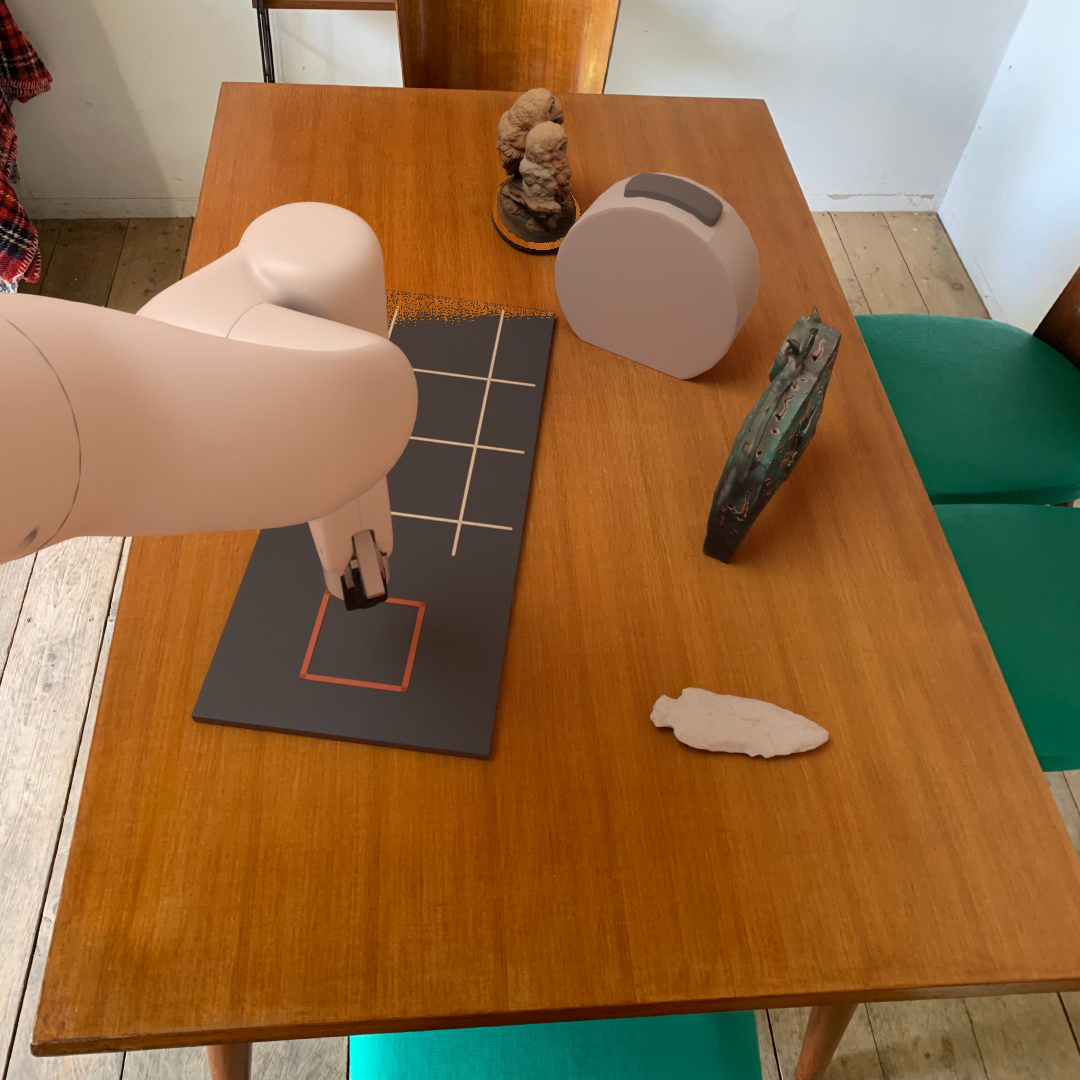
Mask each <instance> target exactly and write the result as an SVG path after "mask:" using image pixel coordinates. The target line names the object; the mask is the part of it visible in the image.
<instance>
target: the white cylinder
mask: <svg viewBox="0 0 1080 1080" xmlns="http://www.w3.org/2000/svg"><path fill="white" fill-rule="evenodd" d="M382 561H383V565H384V568H385V573H386V583H388V581H389V577H390V569H389V558H387V559H386V557H385V556H383V557H382ZM350 563H351V568H352V569H353V568H356V567H359V566H358V562H357V559H356V560H352V561H350ZM321 564H322V563H321ZM322 569H323V575H324V580H325V584H326V586H327V588H328V590H329V591H330V592H331V593H332V594H333V595H335V596H336V597H338V598H340V599H342V600H344V597H343V591H342V585H341V579H340V576H342V575H344V573H343V571H340V572H336V573H330V572H329V571H327V570H326V569H325V568H324V567H323V565H322Z"/></svg>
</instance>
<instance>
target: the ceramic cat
mask: <svg viewBox="0 0 1080 1080" xmlns="http://www.w3.org/2000/svg"><path fill="white" fill-rule="evenodd" d="M841 339H842V332H841V331H840V330H838V329H837V328H836V327H833V326H831V325H830V324H827V323H826V322H824V321H823V320H822V319H821V316H820V313H819V310H818V308H817V306H816V305H815V304H813V307H812V313H811V314H809V315H801V316H799V317H798V318H797V320H796V321H795V323H794V324H793V325H792V326H791V329H790V331H788V333H787V335H786V336H785V339H784V340H783V342H782V344H781V345H780V347H779V349H778V351H777V353H776V356H775V357H774V361H773V363H772V364H771V367H770V369H769V370H768V372H767V374H768V379H769V381H770V384H768V386H767V387H766V388H765V389H764V391H762V394H761V395H760V397H759V398H758V399H757V400H756V402H755V403H754V404H753V406H752V407H751V408H750V410H749V412H748V413H747V415H746V416H745V418H744V420H743V422H742V425H741V427H740V429H739V430H738V432H737V433H736V435H735V438H734V441H733V444H732V446H731V449H730V452H729V454H728V457H727V459H726V461H725V464H724V467H723V470H722V473H721V475H720V478H719V480H718V483H717V486H716V488H715V491H714V492H713V496H712V503H711V507H710V510H709V512H708V513H709V514H708V519H707V523H706V534H705V537H704V541H703V544H702V545H703V546H702V552H703V553H704V554H706V555H708V556H709V557H712V558H714V559H715V558H716V559H718V560H720V561H722V562H723V563H725V564H729V563H730V562H731V560H732V559H733V557H734V556H735V554H736V552H737V550H738V549H739V547H740V546H741V544H742V543H743V541H744V540H745V539H746V537H747V536H748V534H749V532H750V530H751V529H752V528H753V526H754V525H755V523H756V521H757V520H758V518H759V516H760V515H761V514H762V513H763V511H764V509H765V508H766V506H767V505H768V504H769V502H770V501H771V499H772V497H773V496H774V495H775V494H776V492H777V491H778V489H779V488H780V487H781V485H782V484H784V483H785V482H786V481H787V480H788V479H789V477H790V475H791V474H792V472H793V471H794V469H795V468H796V466H797V464H798V463H799V461H800V460H801V458H802V456H803V455H804V453H805V452H806V450H807V448H808V447H809V445H810V443H811V440H812V438H813V437H814V436H815V434H816V432H817V425H818V423H819V421H820V417H821V415H822V413H823V411H824V410H823V409H824V403H825V397H826V394H827V390H828V386H829V385H830V381H831V377H832V374H833V370H834V366H835V363H836V359H837V356H838V353H839V349H840V345H841Z"/></svg>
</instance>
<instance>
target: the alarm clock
mask: <svg viewBox="0 0 1080 1080" xmlns="http://www.w3.org/2000/svg"><path fill="white" fill-rule="evenodd" d="M761 280H762V272H761V262H760V256H759V250H758V249H757V246H756V243H755V241H754V238H753V236H752V234H751V231H750V229H749V227H748V226H747V224H746V223H745V222H744V220H743V219H742V218H741V217H740V215H739V213H738V212H737V211H736V210H735V208H734V207H733V206H732V205H731V204H730V203H729V202H727V201H726V200H725V199H724V198H723V197H721V196H720V195H719V194H718V193H716V192H715V191H714V190H713V189H711V188H710V187H708V186H706V185H703V184H702V183H699V182H697V181H695V180H693V179H691V178H689V177H686V176H681V175H677V174H672V173H667V172H650V173H649V172H648V173H647V172H645V173H644V172H643V173H637V174H634V175H632V176H629V177H626V178H624V179H622V180H618V181H616V182H614V183H613V184H612V185H611V186H610V187H609V188H607V189H606V190H605V191H604V192H602V193H601V194H600V195H599V196H598V197H597V198H596V199H595V200H594V201H593V202H592V203H591V205H590V206H589V207H588V208H587V209H586V210H585V211H584V213H583V214H581V217H580V218H579V219H578V221H577V222H576V223H575V224H574V225H573V226H572V227H571V229H570V230H569V232H568V233H567V235H566V237H565V238H564V240H563V241H562V243H561V244H560V247H559V251H557V255H556V259H555V263H554V289H555V292H556V296H557V299H558V303H559V307H560V310H561V313H562V314H563V315H564V318H565V319H566V322H567V323H568V325H569V327H570V328H571V330H572V332H573V333H574V334H575V335H576V336H577V338H578V339H579V340H580V341H582V342H585V343H587V344H590V345H591V346H595V347H597V348H600V349H603V350H604V351H607V352H610V353H612V354H615V355H618V356H620V357H623V358H625V359H627V360H630V361H633V362H635V363H638V364H640V365H643V366H646V367H647V368H651V369H652V370H656V371H658V372H660V373H663V374H666V375H668V376H671V377H673V378H676V379H678V380H688V379H693V378H695V377H697V376H699V375H701V374H703V373H705V372H707V371H709V370H711V369H713V367H715V365H717V364H718V363H719V362H720V361H721V360H722V359H723V357H725V355H727V353H728V352H729V350H730V348H731V346H732V345H733V344H734V342H735V340H736V338H737V336H738V335H739V333H740V332H741V330H742V329H743V327H744V325H745V323H746V321H747V319H748V318H749V316H750V314H751V313H752V310H753V308H754V307H755V305H756V303H757V301H758V297H759V294H760V293H759V292H760V287H761V286H760V285H761Z"/></svg>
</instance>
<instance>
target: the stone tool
mask: <svg viewBox="0 0 1080 1080" xmlns="http://www.w3.org/2000/svg"><path fill="white" fill-rule="evenodd" d="M649 719H650V721H652V722H653V724H654V726H655V727H656V728H660V727H662V728H672V729H673V734H674V736H675V738H676V739H677V740H678V741H679V742H681V743H683V744H686V745H687V746H689V747H691V748H694V749H696V750H707V751H710V752H725V753H726V752H727V753H729V754H730V753H732V754H733V753H737V754H738V753H739V754H743V753H744V754H747V755H749V756H750V757H752V758H753V757H755V756H759V755H761V756H762V757H763V758H765V759H769V758H772V757H775V756H787V755H790V754H795V753H805V752H807V751H811V750H815V749H816V748H817V747H820V746H822V745H824V744H825V743H827V742H828V740H829V737H830V736H829V735H830V731H828V730H827V729H825V728H824V727H823V726H822V725H819V724H818V723H817V722H815V721H813V720H810V719H809V718H807V717H805V716H804V715H801V714H799V713H794V712H793V711H792V710H789V709H785V708H782V707H781V706H779V705H776V704H775V703H772V702H768V701H764V700H760V699H759V698H751V697H742V696H739V695H733V694H719V693H715V692H713V691H711V690H706V689H704V688H701V687H693V686H691V687H689V686H688V687H685V688H683V689H682V691H681V695H680V696H679V697H678V698H672V697H670V696H668V695H666V694H665V693H664V694H662V695H661V696H659V698H657V700H656V701H655V703H654V704H653V705H652V712H651V713H650V715H649Z"/></svg>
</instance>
